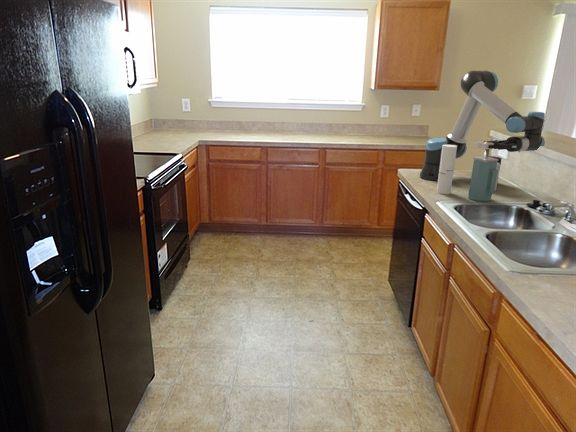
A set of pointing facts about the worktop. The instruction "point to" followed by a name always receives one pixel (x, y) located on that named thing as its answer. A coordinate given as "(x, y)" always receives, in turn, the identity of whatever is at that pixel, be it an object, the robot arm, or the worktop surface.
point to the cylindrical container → (446, 169)
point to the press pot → (483, 179)
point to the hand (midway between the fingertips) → (479, 145)
